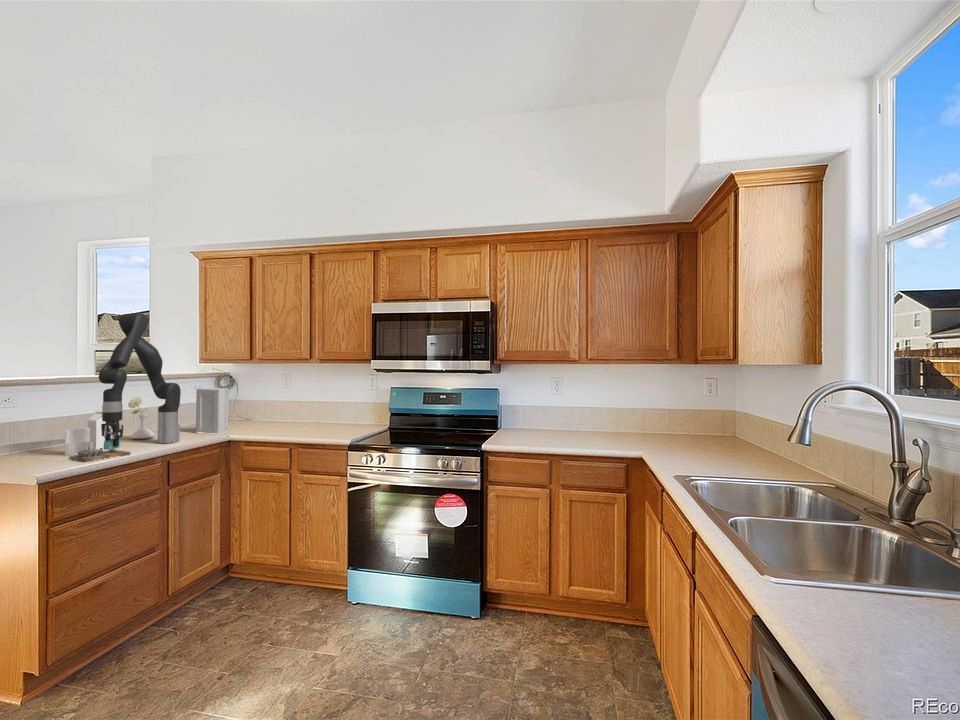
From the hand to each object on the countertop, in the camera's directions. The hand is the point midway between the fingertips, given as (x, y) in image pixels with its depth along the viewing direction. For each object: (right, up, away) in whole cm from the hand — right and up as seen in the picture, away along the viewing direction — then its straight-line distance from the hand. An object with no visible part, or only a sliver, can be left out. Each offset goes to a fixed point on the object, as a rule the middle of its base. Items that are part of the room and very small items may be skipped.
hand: (111, 445), depth 214 cm
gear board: (-2, -4, -4) cm, 6 cm away
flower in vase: (-22, -5, +47) cm, 52 cm away
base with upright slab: (-20, -5, +4) cm, 21 cm away
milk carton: (-21, -5, +17) cm, 27 cm away
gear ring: (0, -1, 0) cm, 1 cm away
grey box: (+7, -6, +74) cm, 75 cm away
